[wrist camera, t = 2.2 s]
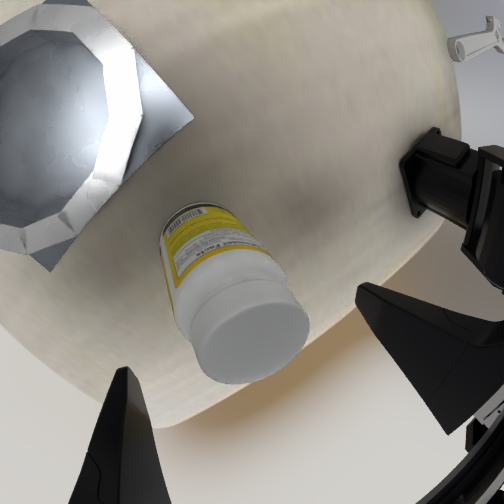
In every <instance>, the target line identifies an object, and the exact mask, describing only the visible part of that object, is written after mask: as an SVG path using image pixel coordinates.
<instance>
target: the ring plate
mask: <svg viewBox="0 0 504 504" xmlns="http://www.w3.org/2000/svg"><path fill="white" fill-rule="evenodd" d="M193 118H195V117H194V116H193V115H192V114H191V113H190V112H189V110H188V109H187V108H186V107H185V106H184V105H183V103H182V102H181V101H180V100H179V99H178V98H177V96H176V95H175V94H174V93H173V92H172V91H171V90H170V88H169V87H168V86H167V85H166V84H165V83H164V82H163V80H162V79H161V78H160V77H159V76H158V75H157V74H156V73H155V72H154V70H153V69H152V68H151V67H150V66H149V65H148V64H147V63H146V62H145V60H144V59H143V58H142V57H141V56H140V55H139V54H138V53H137V52H136V51H135V50H134V49H133V46H132V45H131V44H130V43H129V42H128V41H127V40H126V39H125V38H124V37H123V36H122V35H121V34H120V33H119V32H118V31H117V29H116V28H115V27H114V26H113V25H112V24H111V23H110V22H109V21H108V20H107V19H106V18H105V17H104V16H103V15H102V14H101V13H100V12H99V11H98V10H97V9H96V8H94V7H93V6H92V5H91V4H90V3H89V2H88V1H87V0H46V1H45V2H43V3H42V4H39V6H38V5H36V6H34V7H32V8H30V9H28V10H26V11H24V12H22V13H20V14H19V15H17V16H15V17H13V18H12V19H10V20H8V21H7V22H5V23H3V24H2V25H0V249H4V250H8V251H12V252H16V253H20V254H24V255H26V254H29V255H31V256H32V257H33V258H34V259H35V260H36V261H38V262H39V263H40V264H41V265H42V266H44V267H45V268H46V269H47V270H48V271H50V272H51V271H52V269H53V268H54V266H55V265H56V264H57V262H58V261H59V259H60V258H61V257H62V255H63V254H64V253H65V251H66V250H67V249H68V247H69V246H70V245H71V243H72V242H73V241H74V239H75V238H76V237H77V235H78V234H79V233H80V232H81V231H82V229H83V228H84V227H85V226H86V224H87V223H88V222H89V221H90V220H91V218H92V217H93V216H94V215H95V214H96V212H97V211H98V210H99V209H100V208H101V207H102V206H103V204H104V203H105V202H106V201H107V200H108V199H109V198H110V197H111V196H112V194H113V193H114V192H115V191H116V190H117V189H118V188H119V187H120V186H121V185H122V184H123V183H124V182H125V181H126V180H127V179H128V178H129V176H130V175H131V174H132V173H133V172H134V171H135V170H136V169H137V168H138V167H139V166H141V165H142V164H143V163H144V162H145V161H146V160H147V159H148V158H149V157H150V156H151V155H152V154H153V153H154V152H155V151H156V150H157V149H158V148H160V147H161V146H162V145H163V144H164V143H165V142H166V141H167V140H169V139H170V138H171V137H172V136H173V135H174V134H175V133H177V132H178V131H179V130H180V129H181V128H182V127H184V126H185V125H186V124H187V123H188V122H190V121H191V120H192V119H193Z"/></svg>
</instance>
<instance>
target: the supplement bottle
mask: <svg viewBox="0 0 504 504" xmlns="http://www.w3.org/2000/svg"><path fill="white" fill-rule="evenodd" d="M160 255H161V260H162V264H163V269H164V274H165V278H166V283H167V287H168V292H169V296H170V300H171V305H172V310H173V314H174V318H175V321H176V324H177V326H178V328H179V330H180V331H181V333H182V334H183V335H184V336H185V338H186V339H188V340H189V341H190V342H191V343H192V346H193V348H194V351H195V354H196V357H197V360H198V362H199V365H200V367H201V369H202V370H203V372H204V373H205V374H206V375H207V376H208V377H210V378H211V379H213V380H215V381H218V382H221V383H226V384H244V383H250V382H254V381H257V380H260V379H263V378H265V377H268V376H270V375H272V374H273V373H275V372H277V371H278V370H280V369H282V368H283V367H285V366H286V365H287V364H288V363H289V362H290V361H291V360H292V359H293V358H294V357H295V356H296V355H297V354H298V353H299V352H300V350H301V349H302V347H303V346H304V344H305V342H306V340H307V337H308V334H309V318H308V316H307V314H306V312H305V310H304V309H303V308H302V306H301V305H300V304H299V302H298V301H297V300H296V298H295V297H294V295H293V293H292V292H291V291H290V290H289V287H288V282H287V278H286V276H285V273H284V272H283V270H282V268H281V267H280V265H279V264H278V263H277V262H276V261H275V260H274V258H273V257H272V256H271V255H270V254H269V253H268V252H267V251H266V250H265V249H264V247H263V246H262V245H261V244H260V243H259V242H258V241H257V240H256V239H255V238H254V237H253V236H252V234H251V233H250V232H249V231H248V230H247V229H246V228H245V227H244V226H243V225H242V224H241V223H240V222H239V220H238V219H237V218H236V217H235V216H234V215H233V214H232V213H231V212H230V211H228V210H227V209H225V208H224V207H222V206H220V205H217V204H214V203H206V202H201V203H194V204H190V205H187V206H185V207H183V208H181V209H180V210H178V211H177V212H175V213H174V214H173V215H172V216H171V217H170V218H169V220H168V221H167V222H166V224H165V226H164V228H163V230H162V233H161V236H160Z"/></svg>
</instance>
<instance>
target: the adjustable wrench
mask: <svg viewBox="0 0 504 504" xmlns="http://www.w3.org/2000/svg"><path fill="white" fill-rule="evenodd" d="M500 27H501V24H500V22H499V21H498V20H497V19H496V18H493V16H486V29H485V31H481V32H475V33H469V34H465V35H460V36H455V37H451V38H447V39H448V44H447V45H448V51H449V54H450V56H451V58H452V59H453V61H457V62H465V61H467V60H469V59H471V58H473V57H475V56H476V55H478V54H480V53H482V52H484V51H486V50H488V49H490V48H492V47H494V48H495V49H496V51H497V52H498V53H503V54H504V38H501V35H500V33H499V30H500Z"/></svg>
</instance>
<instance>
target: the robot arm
mask: <svg viewBox="0 0 504 504" xmlns="http://www.w3.org/2000/svg"><path fill="white" fill-rule="evenodd" d="M500 166H501V167H502V170H499V167H500ZM400 168H401V171H402V175H403V178H404V182H405V186H406V189H407V193H408V197H409V201H410V206H411V210H412V215H413V216H414V217H415V218H419V217H420V216H421V215H422V214H423V212H424V211H425V210H426V209H428V210H430V211H432V212H434V213H436V214H438V215H440V216H442V217H443V218H445V219H447V220H449V221H451V222H453V223H454V224H456V225H458V226H460V227H461V228H463V229H465V230H466V234H465V238H464V242H463V243H462V246H461V251H462V252H463V253H464V254H465V255H466V256H467V257H468V259H469V260H470V261H471V262H472V263H473V264H474V265H475V266H476V267H477V268H478V270H479V271H480V272H481V273H482V274H483V275H484V277H485V278H486V279H487V280H488V281H489V282H490V283H491V284H492V285H493V286H494V287H497V288H498V289H501V290H502V294H503V295H504V148H503V147H500V146H497V145H490V146H483V147H478V151H476V150H473V149H470V146H469V145H468V144H467V143H464V142H461V141H458V140H455V139H452V138H448V137H445V136H442V135H441V131H440V129H439V128H437V127H434V128H433V129H432V130H431V131H430V132H429V133H428V134H427V135H426V136H425V137H424V138H423V139H422V140H421V141H420V142H419V143H418V144H417V145H416V146H415V147H414V148H413V149H412V150H411V151H410V152H409V153H408V154H407V155H406V156H405V157H404V158H403V159H402V161H401V163H400ZM355 303H356V306H357V308H358V309H359V311H360V312H361V314H362V315H363V317H364V318H365V320H366V322H367V324H368V325H369V327H370V328H371V330H372V331H373V333H374V334H375V336H376V337H377V338H378V340H379V341H380V342H381V344H382V345H383V346H384V347H385V349H386V350H387V351H388V353H389V354H390V355H391V357H392V358H393V359H394V361H395V362H396V363H397V365H398V366H399V367H400V369H401V370H402V371H403V373H404V374H405V375H406V377H407V378H408V380H409V381H410V382H411V384H412V385H413V387H414V388H415V389H416V391H417V392H418V394H419V395H420V396H421V398H422V399H423V400H424V402H425V403H426V405H427V407H428V408H429V409H430V411H431V412H432V414H433V415H434V416H435V418H436V419H437V421H438V422H439V424H440V425H441V427H442V428H443V430H444V431H445V433H446V434H447V435H449V434H451V433H452V432H453V431H454V430H456V429H457V428H458V427H459V426H461V425H462V424H463V423H464V422H465V421H467V420H468V419H469V418H470V417H471V416H472V415H474V416H475V417H474V418H473V420H472V421H471V422H470V423H469V424H468V425H467V427H466V445H465V449H466V451H467V452H468V454H467V456H466V457H465V458H464V459H463V460H462V461H461V462H460V463H459V464H458V465H457V466H456V467H455V468H454V469H453V470H452V471H451V472H450V473H449V474H448V475H447V477H445V478H444V479H443V480H442V481H441V482H440V483H439V484H438V485H437V486H436V487H435V488H434V489H433V490H431V491H430V492H429V493H428V494H427V495H426V496H424V497H423V498H422V499H421V500H420V501H418V502H417V503H416V504H504V491H502V490H499V489H500V488H501V487H502V485H503V484H504V320H503V321H499V322H498V321H497V322H492V321H487V320H483V319H479V318H475V317H472V316H468V315H464V314H461V313H457V312H454V311H451V310H448V309H445V308H442V307H439V306H436V305H433V304H431V303H428V302H425V301H421V300H419V299H416V298H413V297H410V296H407V295H404V294H402V293H399V292H395V291H393V290H390V289H387V288H384V287H381V286H378V285H375V284H372V283H369V282H365V283H362V284H360V285H359V286H358V287H357V292H356V298H355ZM68 504H171V501H170V498H169V494H168V491H167V488H166V484H165V481H164V477H163V473H162V470H161V466H160V462H159V458H158V454H157V449H156V446H155V441H154V436H153V432H152V426H151V421H150V418H149V414H148V411H147V408H146V404H145V401H144V397H143V394H142V390H141V386H140V383H139V380H138V379H137V377H136V376H135V375H134V373H133V372H132V370H131V369H130V368H129V367H128V366H125V367H121V368H118V369H117V370H116V373H115V375H114V378H113V380H112V383H111V385H110V388H109V390H108V393H107V395H106V398H105V401H104V403H103V406H102V409H101V412H100V414H99V417H98V420H97V423H96V426H95V429H94V432H93V435H92V438H91V441H90V444H89V447H88V452H87V453H86V456H85V460H84V463H83V466H82V469H81V472H80V475H79V477H78V480H77V482H76V485H75V487H74V490H73V492H72V495H71V498H70V500H69V503H68Z"/></svg>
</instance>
